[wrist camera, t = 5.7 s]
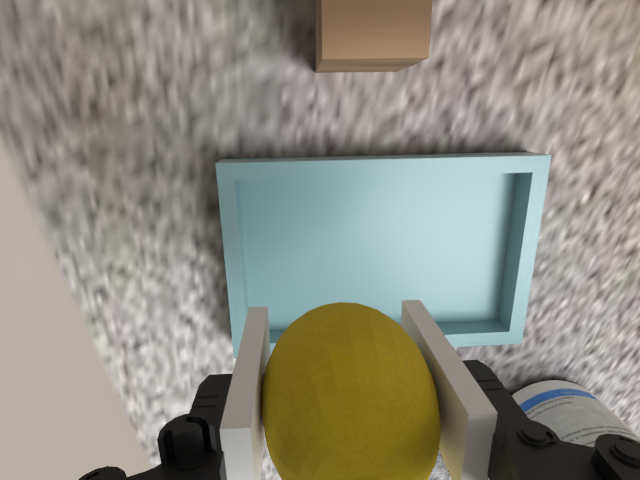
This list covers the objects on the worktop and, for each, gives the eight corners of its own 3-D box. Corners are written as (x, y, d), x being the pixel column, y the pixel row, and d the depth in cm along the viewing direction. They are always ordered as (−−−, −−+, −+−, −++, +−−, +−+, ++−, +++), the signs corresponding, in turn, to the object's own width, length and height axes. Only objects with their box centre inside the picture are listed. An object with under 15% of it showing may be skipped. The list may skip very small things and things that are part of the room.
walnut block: (313, -23, 22) (320, -71, 17) (400, -23, 23) (436, -70, 17) (315, 72, 24) (322, 59, 18) (396, 71, 24) (428, 57, 18)
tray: (222, 158, 25) (215, 163, 23) (527, 151, 26) (551, 155, 24) (238, 338, 29) (234, 358, 26) (503, 325, 30) (521, 343, 28)
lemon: (262, 379, 17) (235, 589, 9) (279, 261, 16) (263, 400, 8) (385, 391, 18) (452, 600, 10) (413, 279, 16) (518, 424, 8)
